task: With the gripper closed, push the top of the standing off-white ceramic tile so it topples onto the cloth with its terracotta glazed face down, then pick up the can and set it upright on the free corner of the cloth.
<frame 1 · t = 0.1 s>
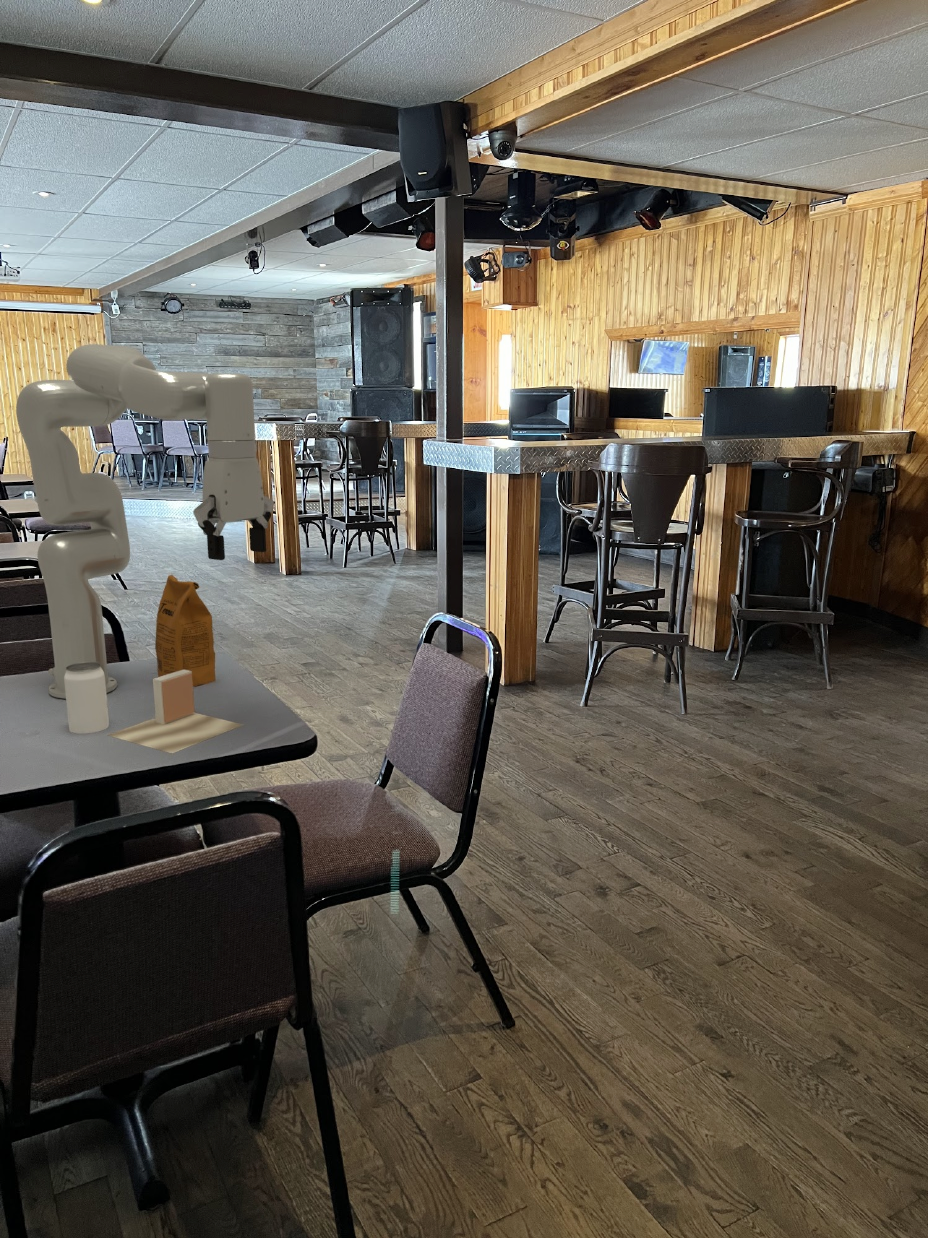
hand: (238, 555, 154), 31 cm above the table, tool pointing down, fingers open, 9 cm apart
coffee package: (186, 684, 189), on the table
can: (89, 733, 161), on the table
cloth: (176, 735, 159), on the table
tile: (175, 717, 165), point 1 cm above the table, touching cloth
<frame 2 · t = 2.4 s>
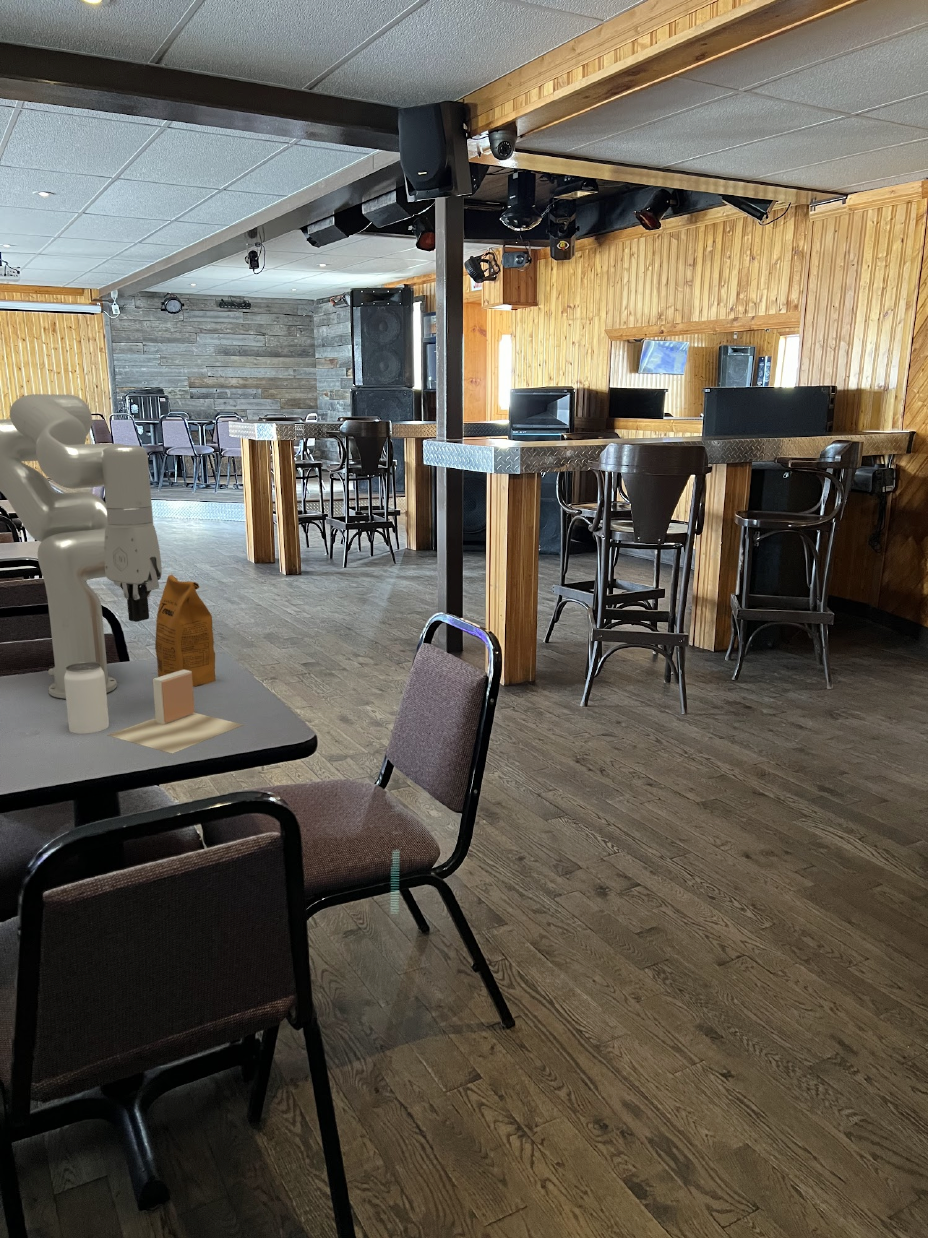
hand: (139, 619, 165), 18 cm above the table, tool pointing down, fingers closed
nothing on the table moved.
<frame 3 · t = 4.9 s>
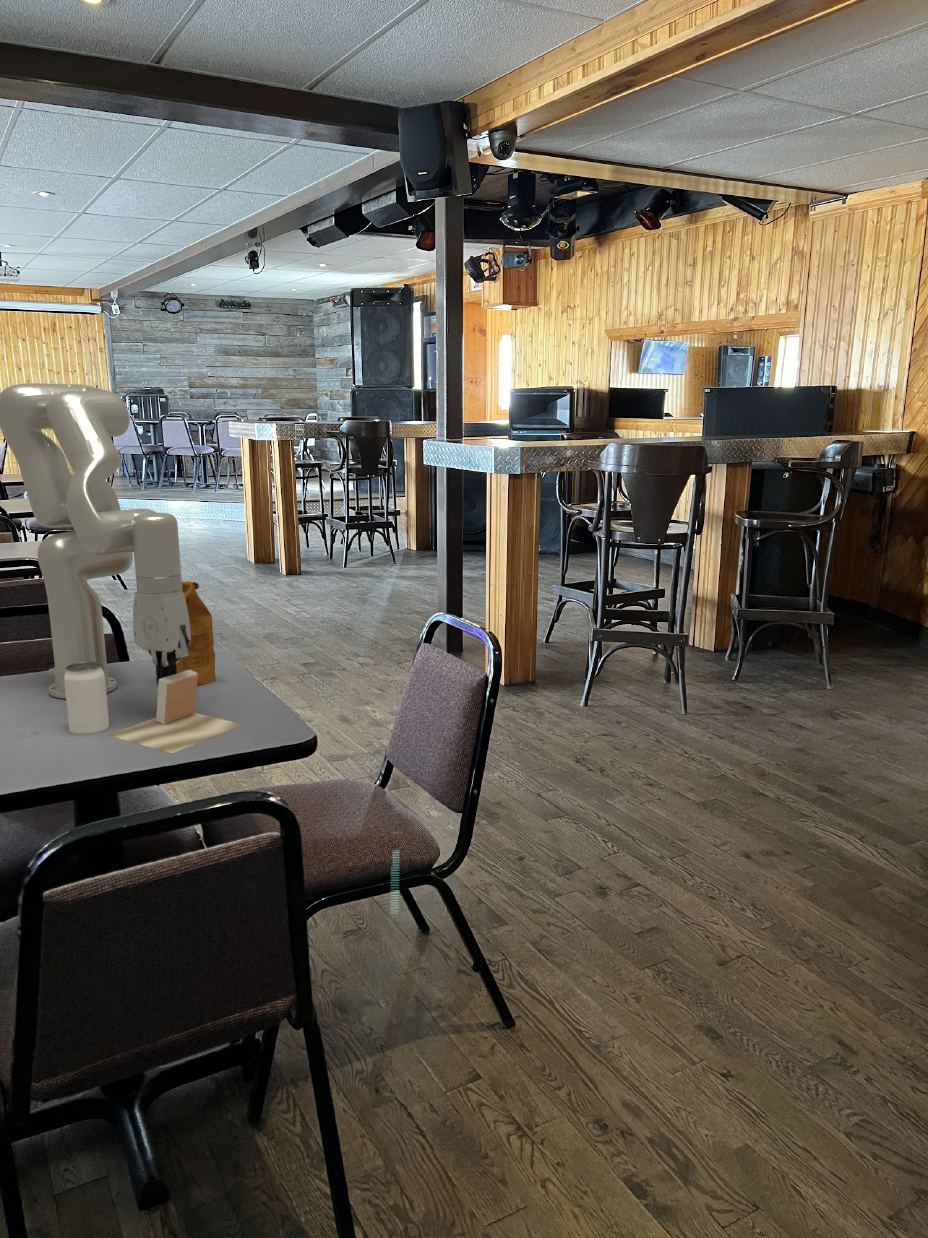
hand: (167, 685, 164), 7 cm above the table, tool pointing down, fingers closed
tile: (175, 716, 165), point 1 cm above the table, tilted 11°, touching cloth
everything else where it was.
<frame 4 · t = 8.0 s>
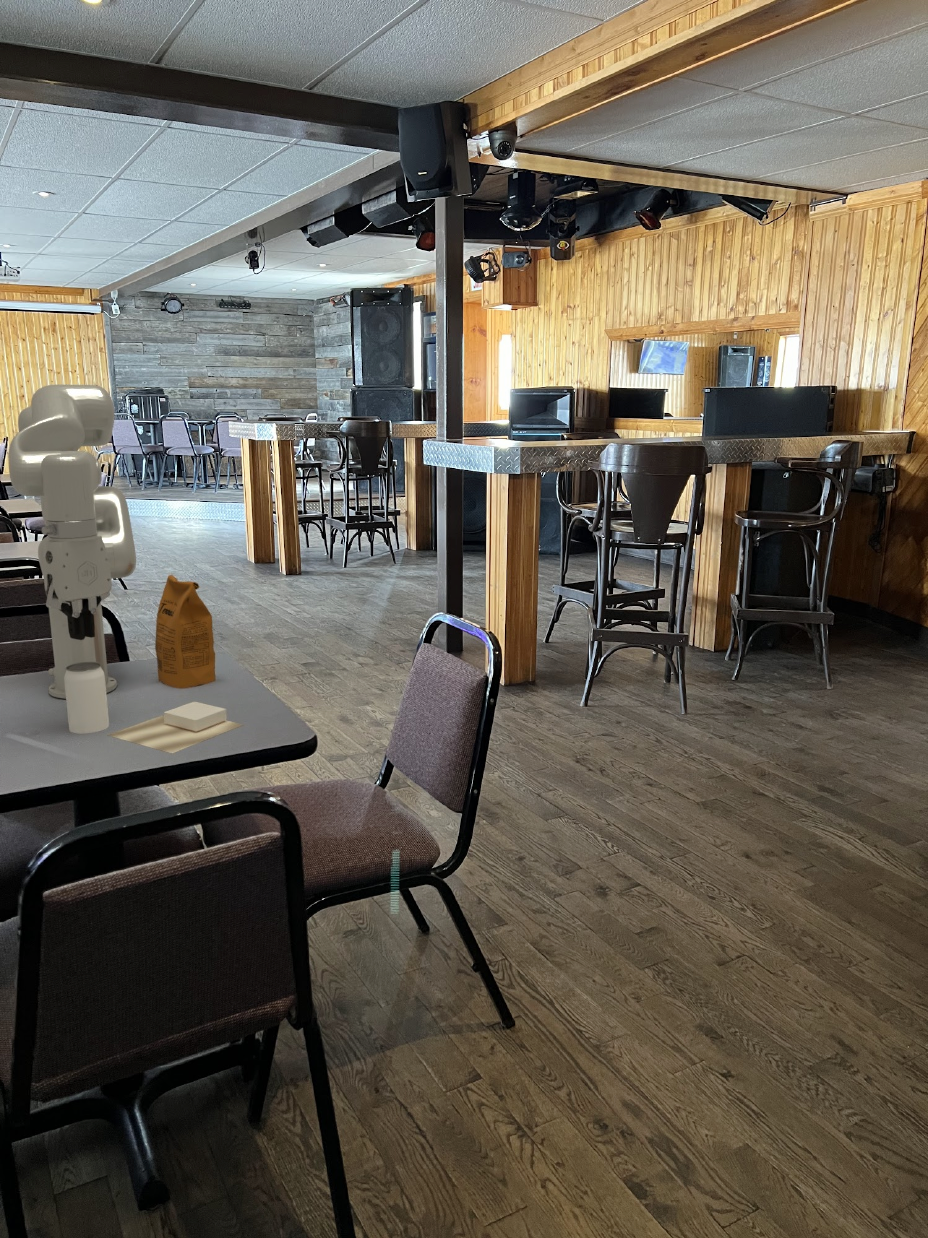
hand: (82, 637, 157), 17 cm above the table, tool pointing down, fingers closed
tile: (179, 712, 164), point 2 cm above the table, tilted 90°, touching cloth
everything else where it was.
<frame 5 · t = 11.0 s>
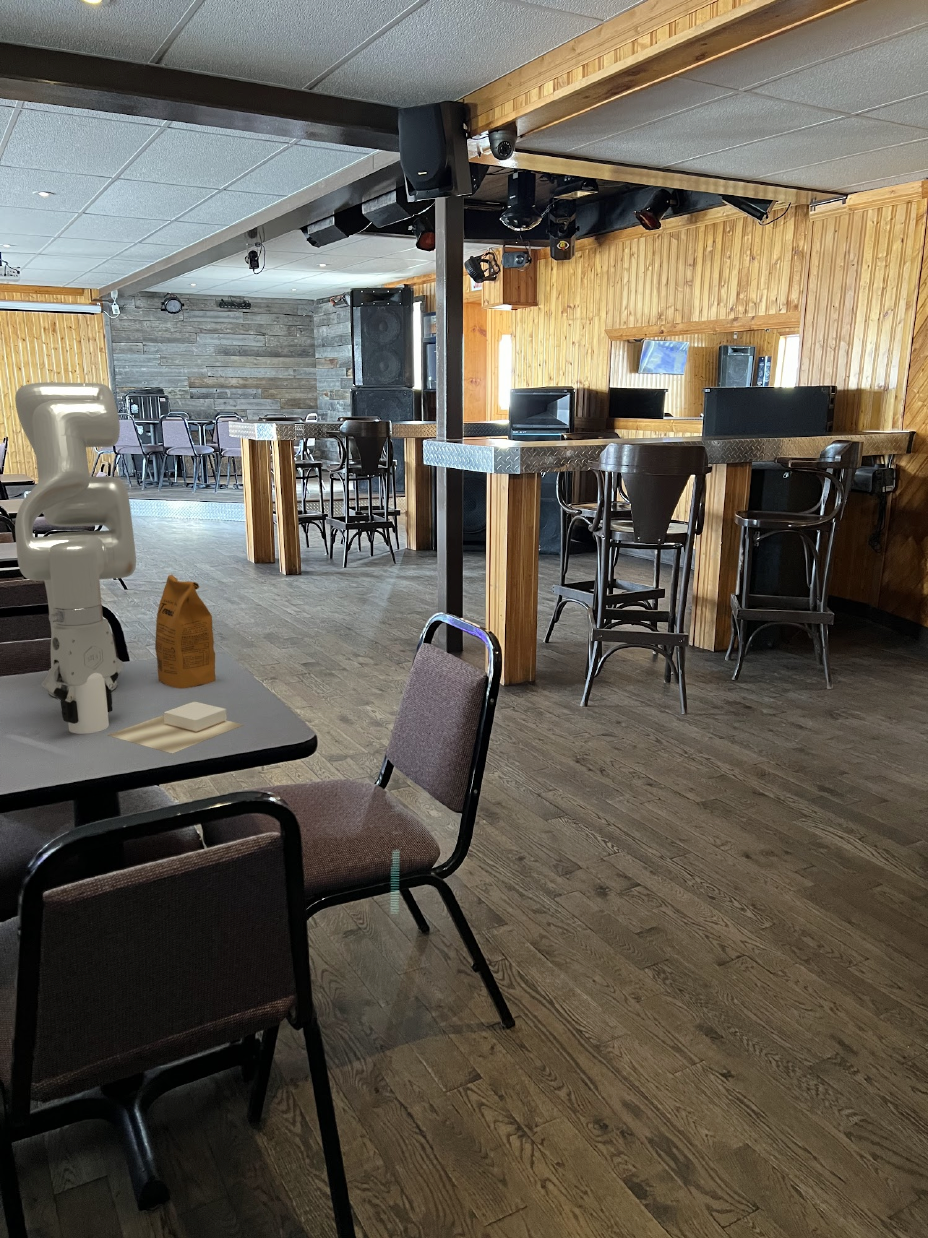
hand: (88, 715, 160), 3 cm above the table, tool pointing down, fingers closed on can, 6 cm apart
can: (89, 733, 161), on the table, touching gripper
everything else where it was.
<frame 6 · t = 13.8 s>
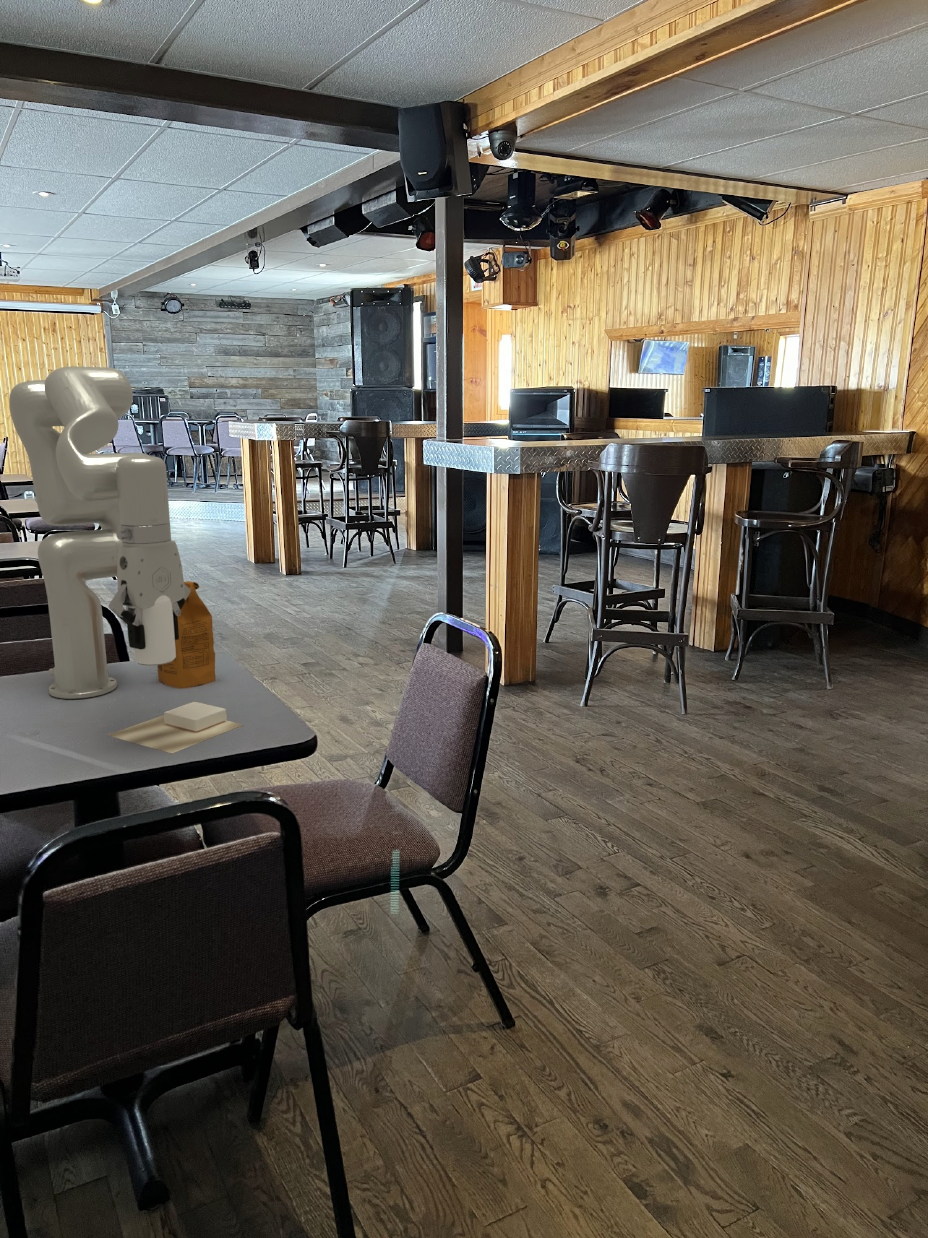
hand: (154, 642, 151), 18 cm above the table, tool pointing down, fingers closed on can, 6 cm apart
can: (155, 662, 152), point 14 cm above the table, touching gripper
everything else where it was.
when the fingers open (5 cm above the table, at t = 16.7 s): can drops 1 cm, resting on cloth.
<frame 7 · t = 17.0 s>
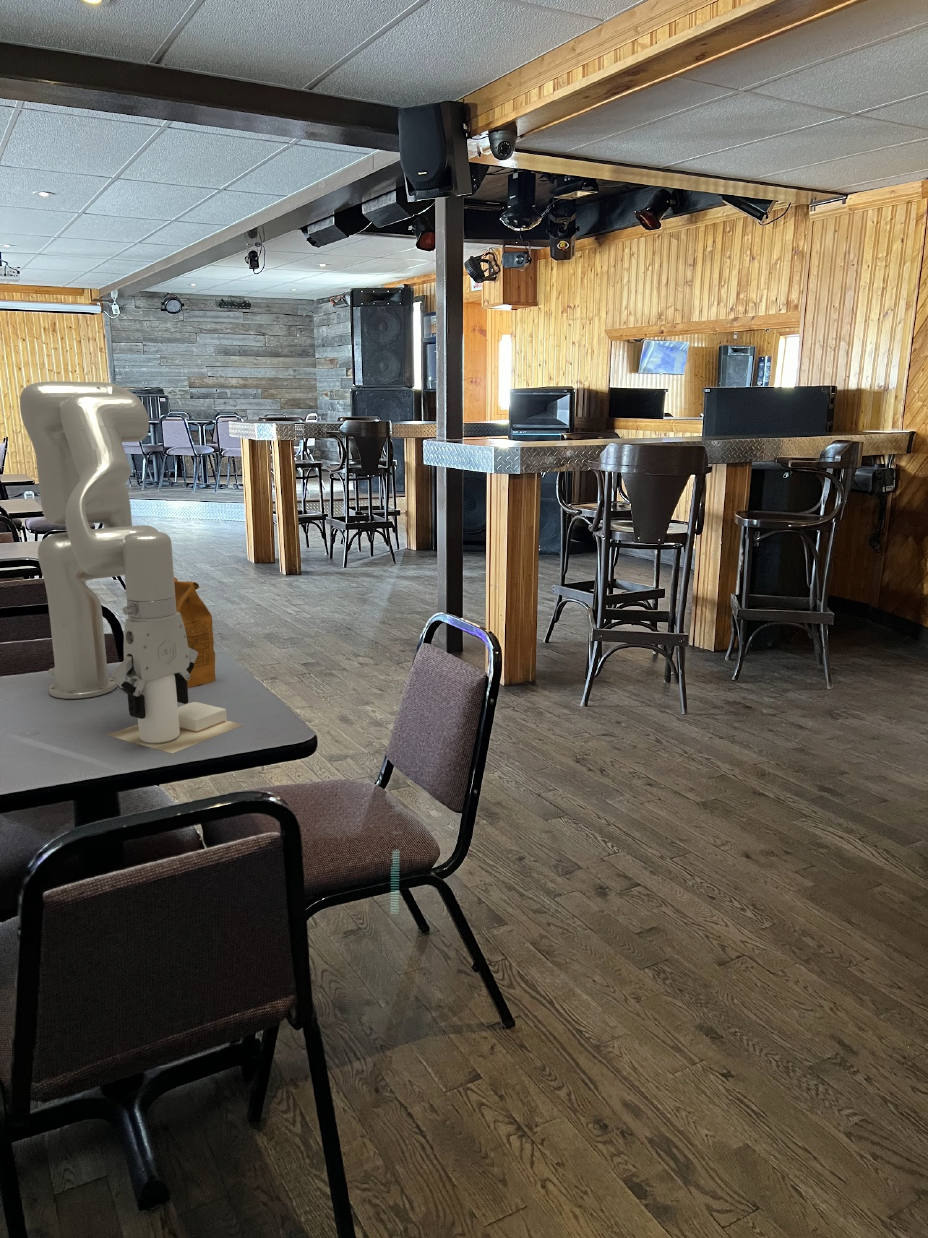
hand: (159, 709, 154), 6 cm above the table, tool pointing down, fingers open, 8 cm apart
can: (160, 738, 155), point 1 cm above the table, touching cloth
everything else where it was.
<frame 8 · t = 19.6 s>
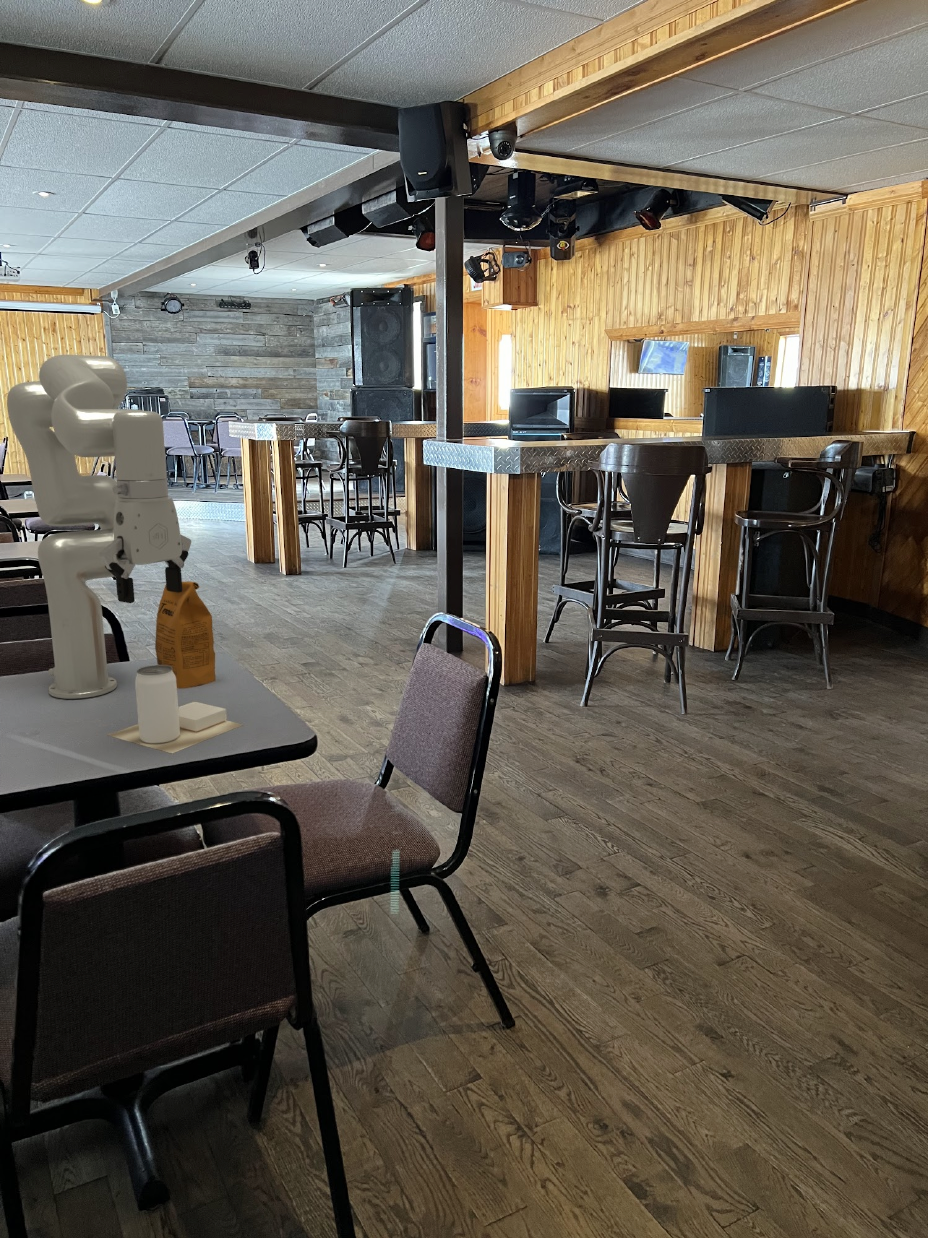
hand: (151, 596, 150), 25 cm above the table, tool pointing down, fingers open, 9 cm apart
nothing on the table moved.
at the end: tile tilted 90°; tile inside the target area (4.5 cm from its centre), point 2.3 cm above the table; can inside the target area (0.3 cm from its centre), point 0.8 cm above the table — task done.
